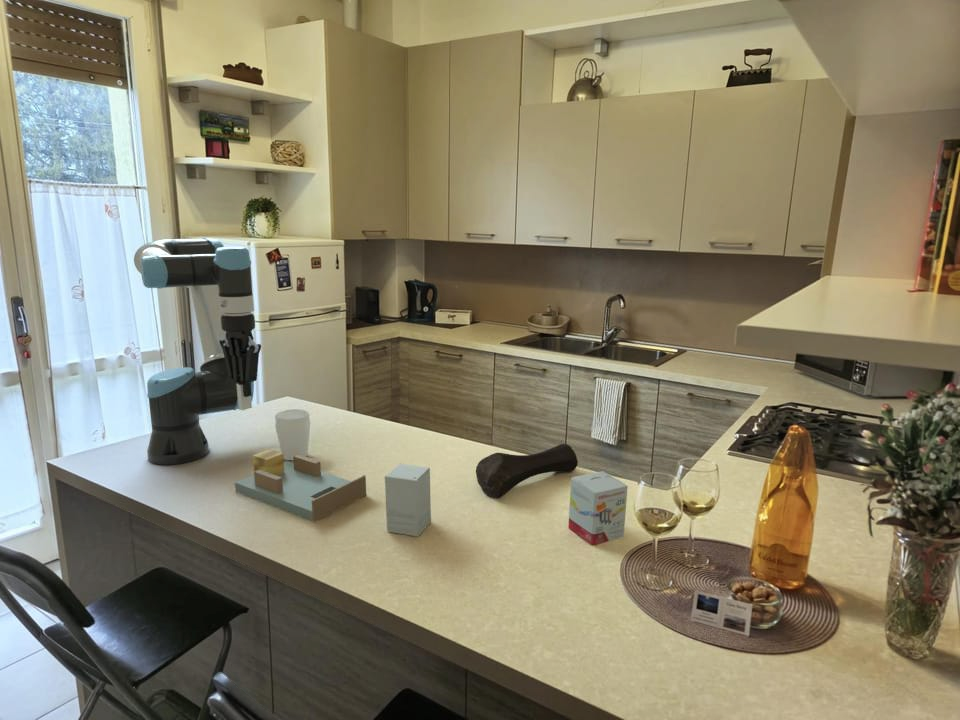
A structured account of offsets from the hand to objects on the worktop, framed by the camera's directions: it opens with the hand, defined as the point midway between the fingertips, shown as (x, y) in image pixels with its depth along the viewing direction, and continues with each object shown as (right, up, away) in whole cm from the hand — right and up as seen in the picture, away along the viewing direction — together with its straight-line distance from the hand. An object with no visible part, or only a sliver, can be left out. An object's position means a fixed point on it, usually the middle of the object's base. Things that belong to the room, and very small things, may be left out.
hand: (245, 408), depth 154 cm
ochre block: (+6, -16, 0) cm, 17 cm away
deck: (+15, -20, -6) cm, 26 cm away
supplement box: (+43, -24, -21) cm, 53 cm away
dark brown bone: (+69, -19, +2) cm, 72 cm away
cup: (+7, -15, +17) cm, 24 cm away
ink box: (+82, -25, -23) cm, 89 cm away
